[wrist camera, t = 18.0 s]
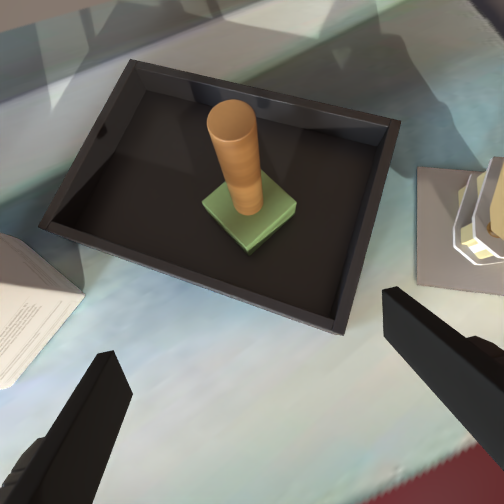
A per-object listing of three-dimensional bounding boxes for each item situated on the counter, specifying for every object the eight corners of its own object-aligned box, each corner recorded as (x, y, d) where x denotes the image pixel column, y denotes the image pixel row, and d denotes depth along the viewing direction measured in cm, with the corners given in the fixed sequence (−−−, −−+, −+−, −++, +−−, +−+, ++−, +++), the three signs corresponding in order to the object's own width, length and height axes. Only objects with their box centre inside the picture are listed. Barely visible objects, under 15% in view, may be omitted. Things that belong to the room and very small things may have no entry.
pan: (66, 238, 24) (36, 226, 21) (145, 87, 28) (129, 58, 25) (334, 334, 21) (344, 336, 18) (386, 145, 24) (402, 120, 21)
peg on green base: (208, 214, 23) (153, 121, 13) (252, 175, 24) (235, 55, 13) (249, 256, 22) (225, 193, 11) (294, 215, 23) (313, 117, 12)
